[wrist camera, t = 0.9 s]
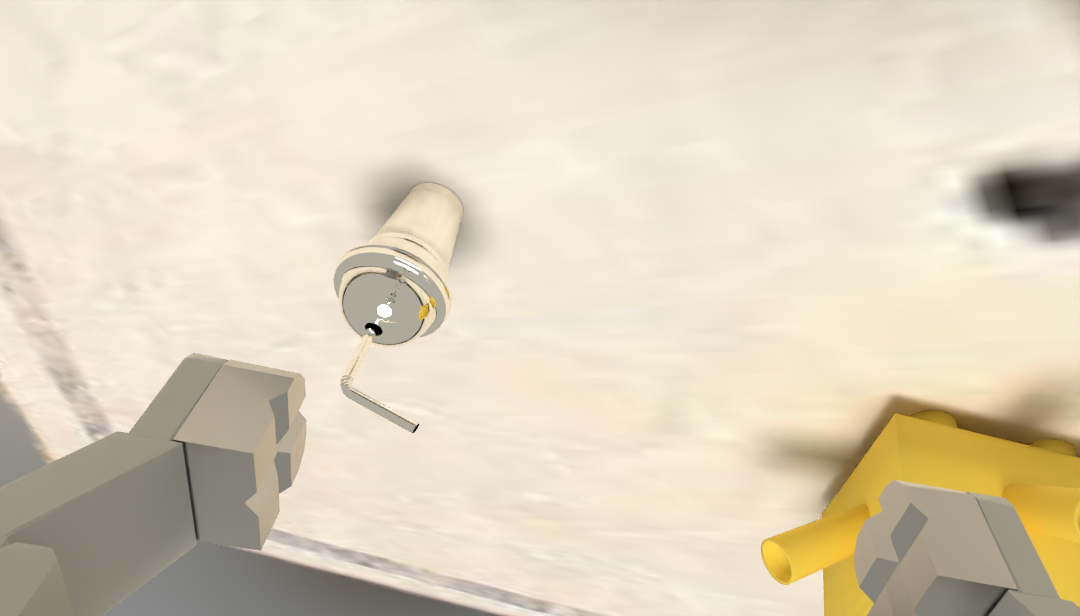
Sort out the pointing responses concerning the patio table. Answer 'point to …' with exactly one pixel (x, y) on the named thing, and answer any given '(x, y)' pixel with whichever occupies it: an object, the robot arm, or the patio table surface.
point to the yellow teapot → (947, 462)
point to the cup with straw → (399, 282)
